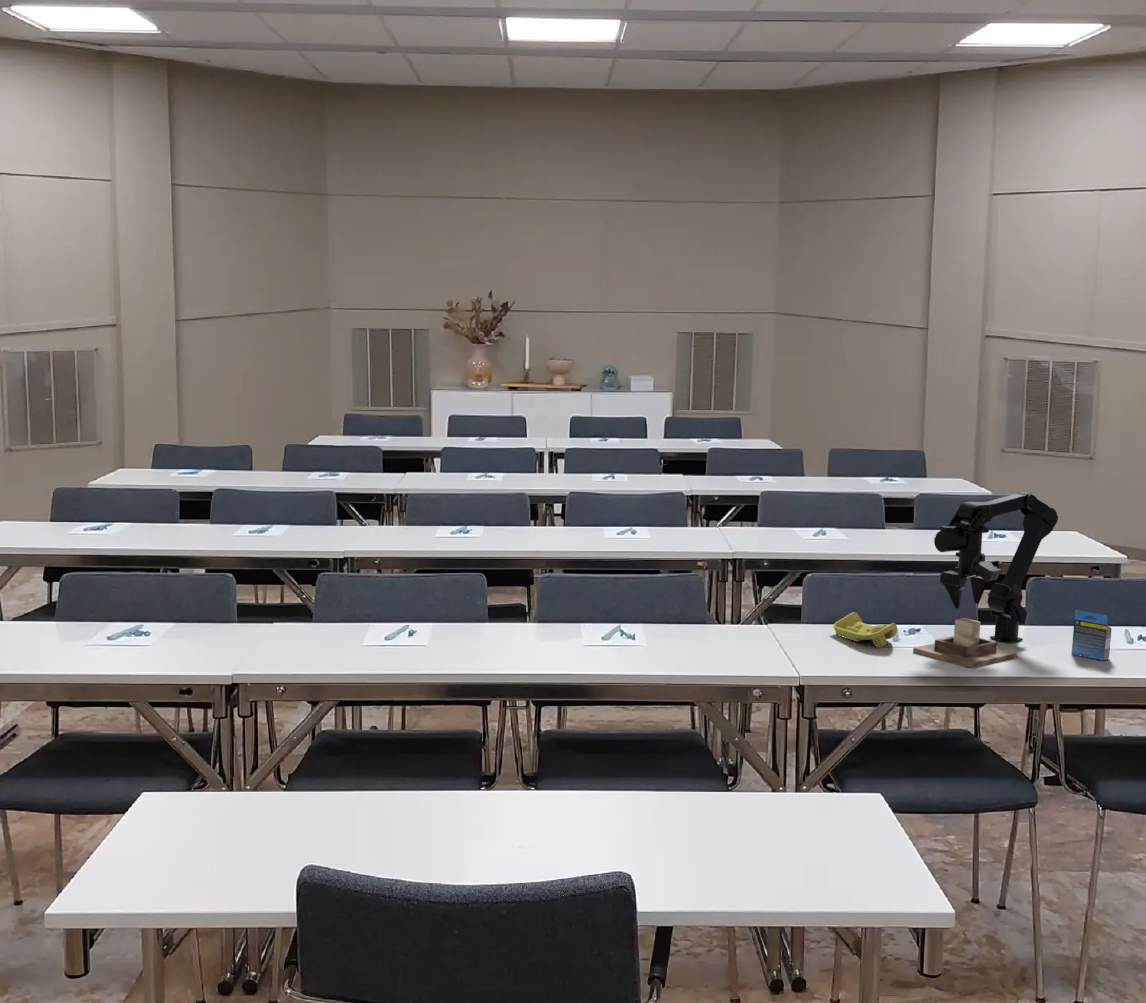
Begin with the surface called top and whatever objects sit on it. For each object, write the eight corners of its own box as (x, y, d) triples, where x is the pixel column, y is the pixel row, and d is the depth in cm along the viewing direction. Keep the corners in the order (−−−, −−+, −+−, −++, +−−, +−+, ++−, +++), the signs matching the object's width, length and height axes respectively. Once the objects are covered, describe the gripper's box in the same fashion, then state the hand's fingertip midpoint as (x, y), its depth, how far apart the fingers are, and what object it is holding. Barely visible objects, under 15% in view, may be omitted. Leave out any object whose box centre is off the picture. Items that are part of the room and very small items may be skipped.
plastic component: (829, 626, 357) (857, 608, 360) (839, 648, 359) (867, 631, 362) (869, 638, 339) (898, 619, 342) (879, 662, 340) (908, 643, 343)
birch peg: (962, 647, 342) (964, 617, 341) (978, 651, 338) (980, 621, 337) (953, 649, 340) (955, 619, 339) (968, 653, 336) (971, 623, 335)
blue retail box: (1109, 659, 339) (1114, 613, 337) (1103, 661, 336) (1107, 615, 335) (1076, 652, 345) (1080, 607, 344) (1070, 654, 343) (1074, 609, 341)
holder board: (959, 642, 352) (960, 629, 352) (1017, 657, 338) (1018, 643, 338) (913, 652, 340) (914, 638, 340) (970, 668, 326) (971, 653, 326)
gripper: (976, 558, 334) (972, 616, 337) (1016, 550, 346) (1012, 606, 348) (939, 551, 343) (936, 608, 345) (980, 544, 354) (977, 599, 357)
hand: (966, 605), depth 349 cm, fingers open, 9 cm apart
